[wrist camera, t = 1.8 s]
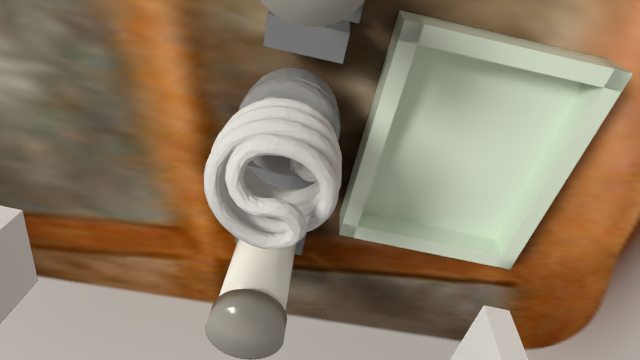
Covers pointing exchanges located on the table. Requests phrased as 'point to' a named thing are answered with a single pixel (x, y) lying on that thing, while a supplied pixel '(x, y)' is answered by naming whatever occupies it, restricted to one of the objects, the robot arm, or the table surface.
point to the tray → (471, 139)
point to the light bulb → (277, 160)
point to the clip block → (314, 44)
